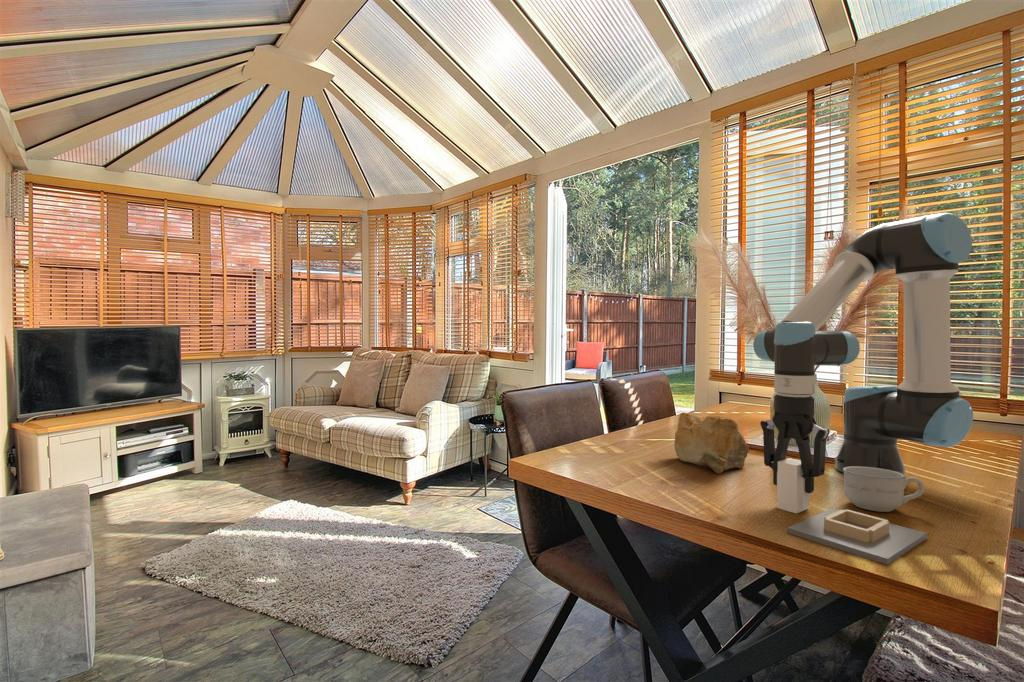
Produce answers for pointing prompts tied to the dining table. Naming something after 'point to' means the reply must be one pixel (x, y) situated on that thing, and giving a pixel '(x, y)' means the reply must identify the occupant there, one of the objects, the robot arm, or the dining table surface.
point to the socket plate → (859, 534)
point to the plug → (789, 485)
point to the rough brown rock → (710, 442)
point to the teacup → (878, 488)
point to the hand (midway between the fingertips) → (792, 503)
